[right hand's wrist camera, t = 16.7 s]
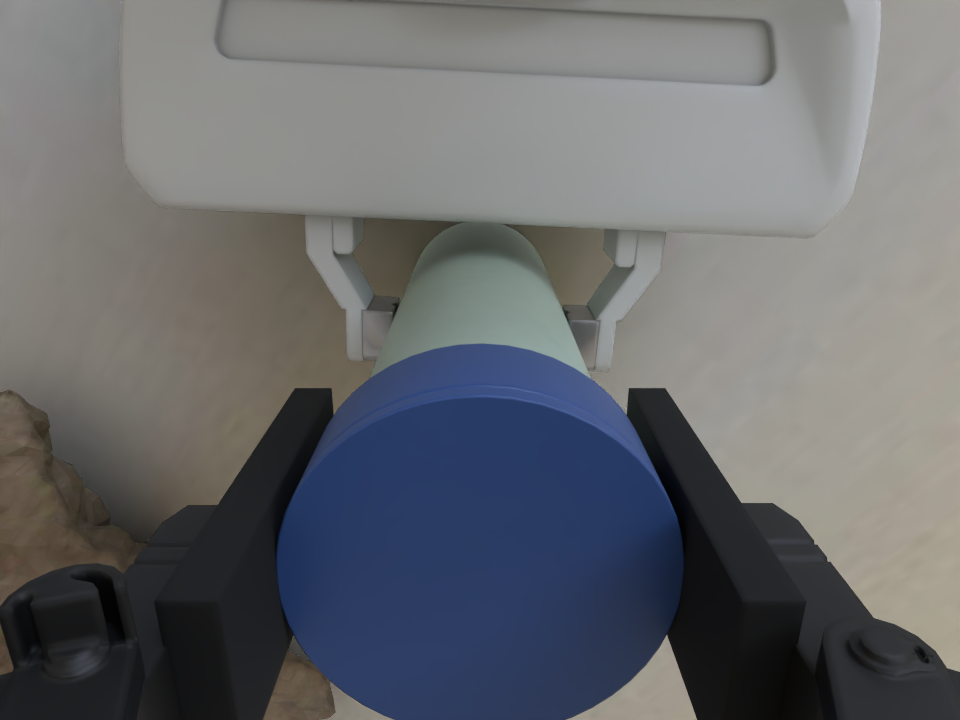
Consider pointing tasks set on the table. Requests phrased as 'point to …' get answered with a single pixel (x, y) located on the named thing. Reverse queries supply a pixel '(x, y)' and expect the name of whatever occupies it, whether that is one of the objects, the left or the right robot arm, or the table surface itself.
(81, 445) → the table surface
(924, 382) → the table surface
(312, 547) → the lid
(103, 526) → the stone
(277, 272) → the table surface
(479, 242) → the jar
